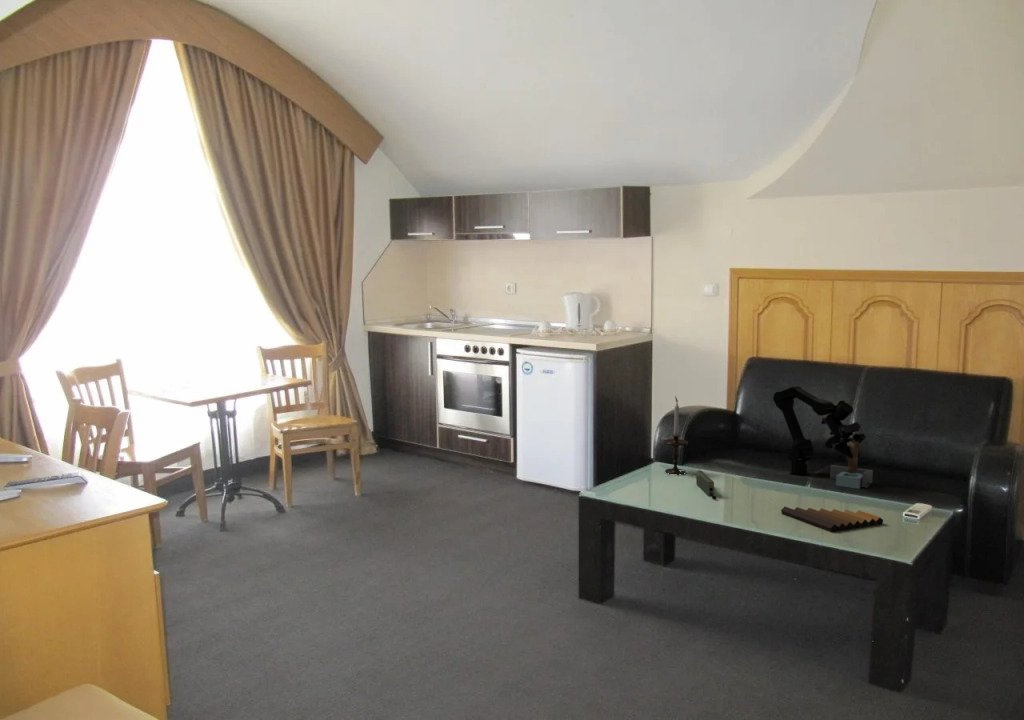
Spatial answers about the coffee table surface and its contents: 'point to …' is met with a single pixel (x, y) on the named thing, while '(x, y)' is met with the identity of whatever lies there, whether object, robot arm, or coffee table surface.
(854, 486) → the socket block
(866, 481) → the corner stop
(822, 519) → the pan flute
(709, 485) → the handheld radio
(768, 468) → the coffee table surface
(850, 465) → the dowel
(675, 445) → the candlestick
